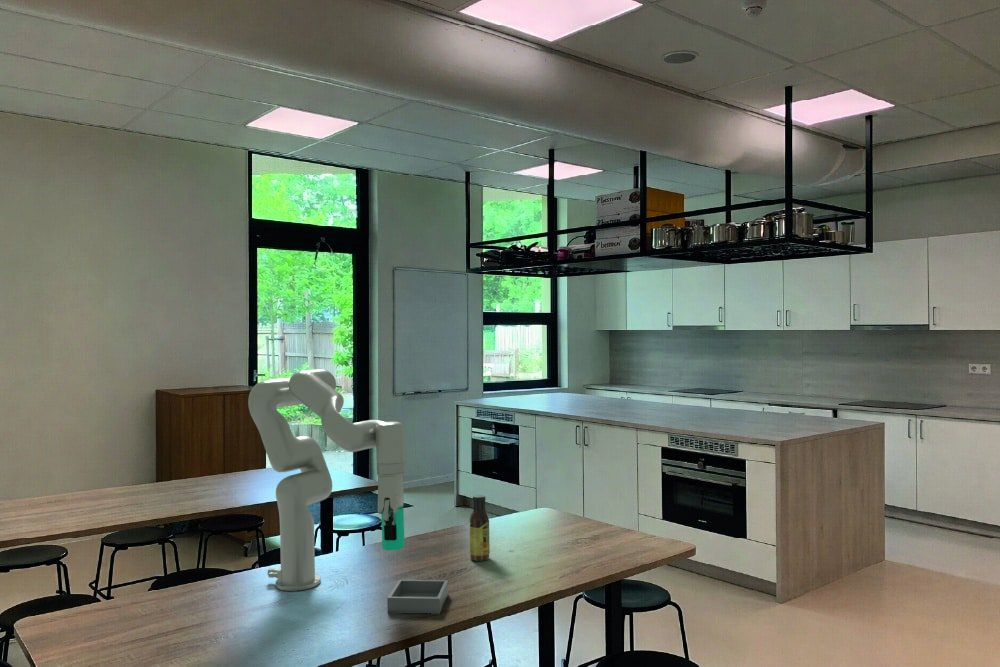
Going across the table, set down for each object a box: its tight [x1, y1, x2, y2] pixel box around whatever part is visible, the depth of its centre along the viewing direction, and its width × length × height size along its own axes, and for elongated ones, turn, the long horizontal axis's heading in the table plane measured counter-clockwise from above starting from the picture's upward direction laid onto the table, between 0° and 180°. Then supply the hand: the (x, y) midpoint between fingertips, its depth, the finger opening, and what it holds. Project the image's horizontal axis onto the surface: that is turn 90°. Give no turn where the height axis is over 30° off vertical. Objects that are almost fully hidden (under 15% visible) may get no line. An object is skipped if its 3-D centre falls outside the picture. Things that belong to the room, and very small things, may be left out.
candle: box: [380, 506, 406, 551], centre depth 195 cm, size 6×6×12 cm
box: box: [386, 579, 449, 615], centre depth 195 cm, size 14×14×4 cm
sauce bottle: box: [469, 494, 491, 562], centre depth 232 cm, size 7×6×20 cm
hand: (393, 536), depth 195 cm, fingers closed on candle, 4 cm apart
